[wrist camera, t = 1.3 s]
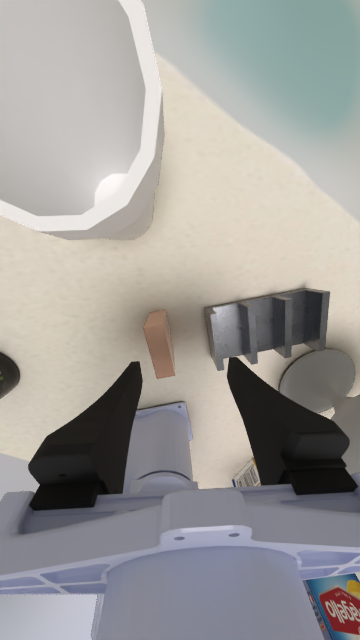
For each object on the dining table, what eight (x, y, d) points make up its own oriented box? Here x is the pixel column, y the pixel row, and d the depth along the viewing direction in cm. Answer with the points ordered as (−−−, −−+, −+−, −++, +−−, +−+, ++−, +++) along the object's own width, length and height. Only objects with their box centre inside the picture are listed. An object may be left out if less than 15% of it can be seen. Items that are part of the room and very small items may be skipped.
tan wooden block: (160, 352, 24) (157, 379, 18) (150, 312, 22) (143, 327, 16) (173, 349, 24) (175, 375, 18) (165, 309, 22) (163, 323, 16)
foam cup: (81, 144, 17) (-177, -215, 4) (173, 168, 18) (180, -69, 5) (80, 246, 19) (-82, 207, 7) (159, 262, 20) (143, 252, 8)
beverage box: (273, 494, 35) (427, 834, 14) (231, 479, 33) (339, 853, 12) (295, 474, 33) (505, 822, 12) (253, 457, 31) (421, 841, 10)
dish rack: (211, 356, 25) (217, 370, 21) (204, 307, 22) (210, 314, 19) (303, 339, 24) (324, 350, 21) (305, 288, 22) (330, 291, 19)
